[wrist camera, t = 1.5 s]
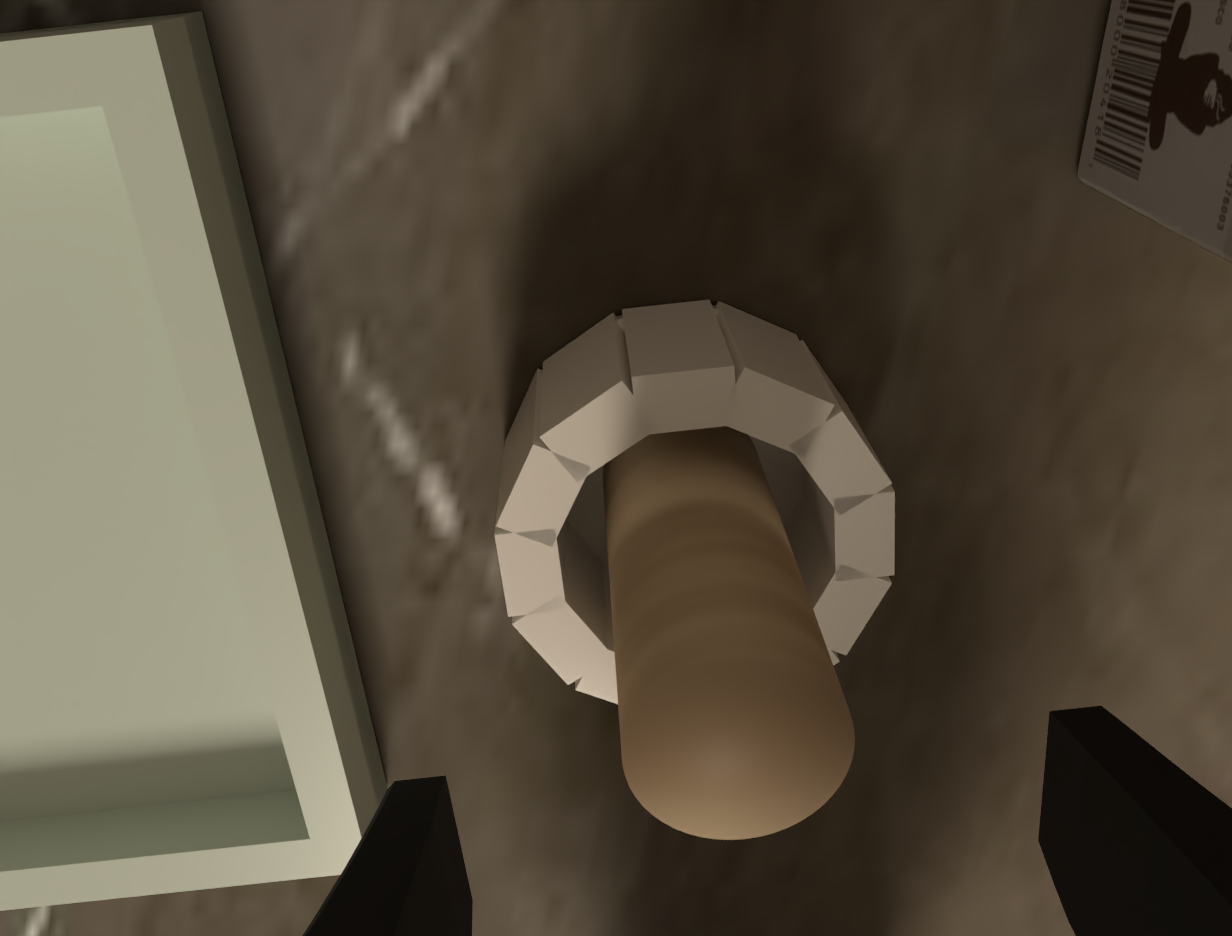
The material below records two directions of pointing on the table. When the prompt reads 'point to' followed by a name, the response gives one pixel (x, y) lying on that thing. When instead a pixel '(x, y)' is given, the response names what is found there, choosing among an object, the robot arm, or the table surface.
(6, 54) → the tray
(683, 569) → the dowel pin
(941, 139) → the table surface
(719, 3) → the table surface
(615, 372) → the ring
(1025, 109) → the table surface
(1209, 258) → the table surface
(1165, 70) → the coffee box
